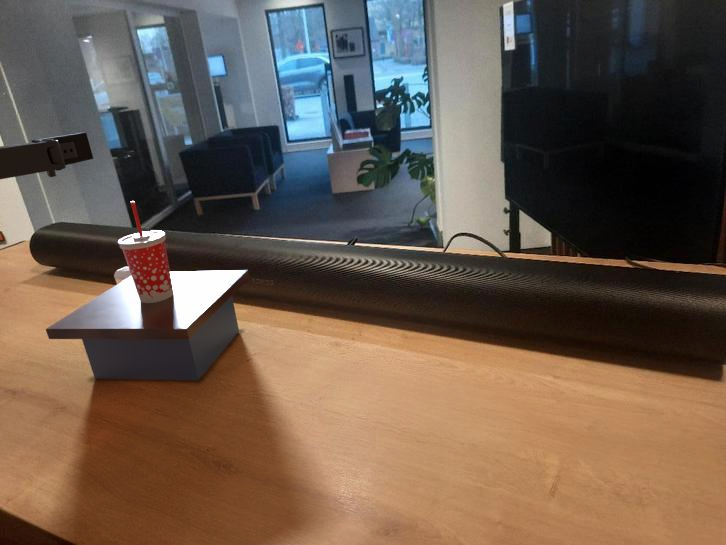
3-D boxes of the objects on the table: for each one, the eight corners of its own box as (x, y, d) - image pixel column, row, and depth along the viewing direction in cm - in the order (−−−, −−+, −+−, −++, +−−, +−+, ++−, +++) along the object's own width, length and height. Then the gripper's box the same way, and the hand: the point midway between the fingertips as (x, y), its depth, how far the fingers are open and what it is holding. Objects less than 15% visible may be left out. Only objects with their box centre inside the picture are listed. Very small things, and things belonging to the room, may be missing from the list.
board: (48, 339, 65) (45, 329, 64) (137, 281, 83) (135, 272, 83) (189, 339, 61) (186, 328, 60) (249, 278, 79) (247, 269, 79)
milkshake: (161, 311, 91) (148, 259, 87) (132, 322, 87) (117, 269, 83) (150, 305, 94) (137, 255, 90) (121, 316, 90) (106, 264, 86)
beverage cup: (183, 297, 70) (160, 200, 65) (137, 309, 68) (109, 209, 63) (174, 284, 75) (152, 194, 70) (131, 295, 73) (105, 202, 68)
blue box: (94, 378, 70) (78, 328, 67) (149, 331, 83) (137, 287, 80) (198, 380, 67) (186, 328, 64) (239, 331, 80) (230, 286, 77)
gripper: (-314, 251, 37) (-52, 191, 57) (-39, 239, 33) (144, 178, 52) (-375, 150, 35) (-78, 123, 54) (-85, 121, 30) (125, 103, 50)
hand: (31, 150), depth 53 cm, fingers open, 13 cm apart
